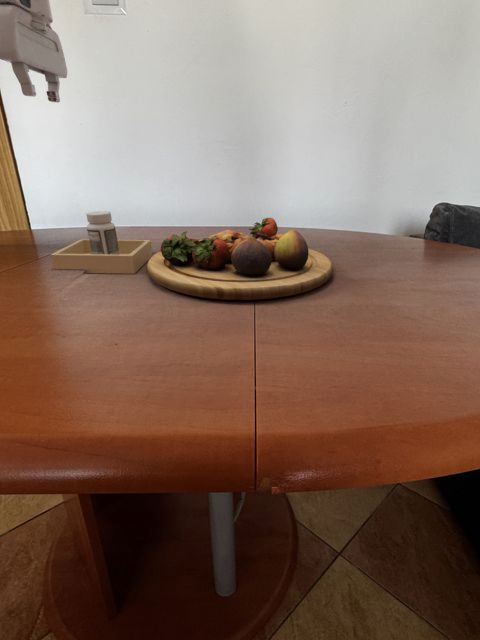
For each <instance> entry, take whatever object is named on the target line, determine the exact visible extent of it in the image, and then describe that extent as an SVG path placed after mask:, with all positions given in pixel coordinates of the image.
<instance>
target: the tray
mask: <svg viewBox="0 0 480 640" xmlns="http://www.w3.org/2000/svg"><path fill="white" fill-rule="evenodd" d="M117 241H118V247H119V253H120V255H114V254H92V251H91V246H90V242H89V238H81V239H79V240H76V241H74V242H73V243H71V244H69V245H67V246H65V247H63V248H61V249H59V250H57V251H55V252H53V253H50V258H51V263H52V267H53V270H67V271H68V270H70V271H71V270H75V271H76V270H78V271H79V270H80V271H81V270H82V271H83V272H82V274H120V275H121V274H124V275H129V274H130V275H135V274H136V273H137V272H138V271H139V270H140V269H141V268H142V267H143V266H144V265H145V264H146V263H148V261H149V260H150V259H151V257H152V256H154V254H153V247H152V240H151V239H117Z"/></svg>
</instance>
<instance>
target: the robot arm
mask: <svg viewBox="0 0 480 640" xmlns="http://www.w3.org/2000/svg"><path fill="white" fill-rule="evenodd" d="M53 19H54V18H53V13H52V8H51V3H50V0H0V60H1V61H4V62H7V63H9V64H11V67H12V71H13V74H14V76H15V77H16V79H17V81H18V83H19V85H20V89H21V93H22V94H23V96H25V97H33V98H34V97H36V96H37V91H36V86H35V84H33V83H32V80H31V78H30V75H29V73H30V71H32V72H35V73H38V74H41V75H43V76H44V78H45V82H47V90H46V91H45V92H46V97H47V100H48V101H49V102H51V103H60V102H61V98H60V84H61V83H60V79H67V77H68V67H67V62H66V58H65V54H64V50H63V46H62V42H61V40H60V37H59V34H57V32H56V31H55V30H54V29H53V28H52V26H51V24H52V23H53V21H54V20H53Z"/></svg>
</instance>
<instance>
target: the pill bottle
mask: <svg viewBox="0 0 480 640" xmlns="http://www.w3.org/2000/svg"><path fill="white" fill-rule="evenodd" d="M85 215H86V220H87V222H88V224H87V225H86V231H87V236H88V239H89V242H90V246H91V251H92V254H114V255H120V253H119V247H118V241H117V240H118V235H117V229H116V226H115V225H116V224H114V223H113V222H112V221H113V218H112V213H111V212H110V211H107V210H97V211H96V210H93V211H88V212H86V213H85Z"/></svg>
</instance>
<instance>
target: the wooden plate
mask: <svg viewBox="0 0 480 640" xmlns="http://www.w3.org/2000/svg"><path fill="white" fill-rule="evenodd" d="M252 225H253V227H252V228H248V230H249V231H250V233H249V235H247V234H245V233H242V232H240V231H235V230H232V229H225V230H222V231H219V232H218V233H214V234H212V235H210V236H208V237H204V238H201V239H197V238H190V237H188V236H187V233H188V230H186V231H183V232H182V233H181V234H180V235H178V234H174V233H173V234H171V236H168V237H166V238H165V239H163V241H162V243H161V244H160V251H159V252H156V253H155V254H153V256H152V257H151V258H150V259H149V260H148V261H147V264H146V270H147V274H148V276H149V277H150V278H151V279H152V280H153V281H154V283H156V284H158V285H159V286H161V287H163V288H166V289H168V290H170V291H173V292H177V293H181V294H184V295H188V296H192V297H198V298H204V299H205V298H206V299H214V300H228V301H230V300H231V301H232V300H233V301H234V300H237V301H254V300H255V301H256V300H268V299H278V298H284V297H289V296H293V295H299V294H302V293H305V292H309V291H312V290H314V289H316V288H319V287H321V286H322V285H324V284H325V283H326V282H327V281H328V280H329V279H330V278H331V276H332V274H333V270H334V266H333V263H332V262H331V260H330V259H329V257H327V256H326V255H324V254H323V253H321V252H319V251H317V250H314V249H312V248H309V246H308V242H307V241H306V240H305V238H304V237H303V236H302V234H300V233H299V232H298V231H297V230H295V229H294V228H292V229H289V230H288V231H286V233H278V231H279V228H278V224H277V221H276V220H275V219H274V218H273V217H264V218H263V219H262V221H261V223H260V222H257V221H255V223H253V224H252ZM250 235H251V236H250Z"/></svg>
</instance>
